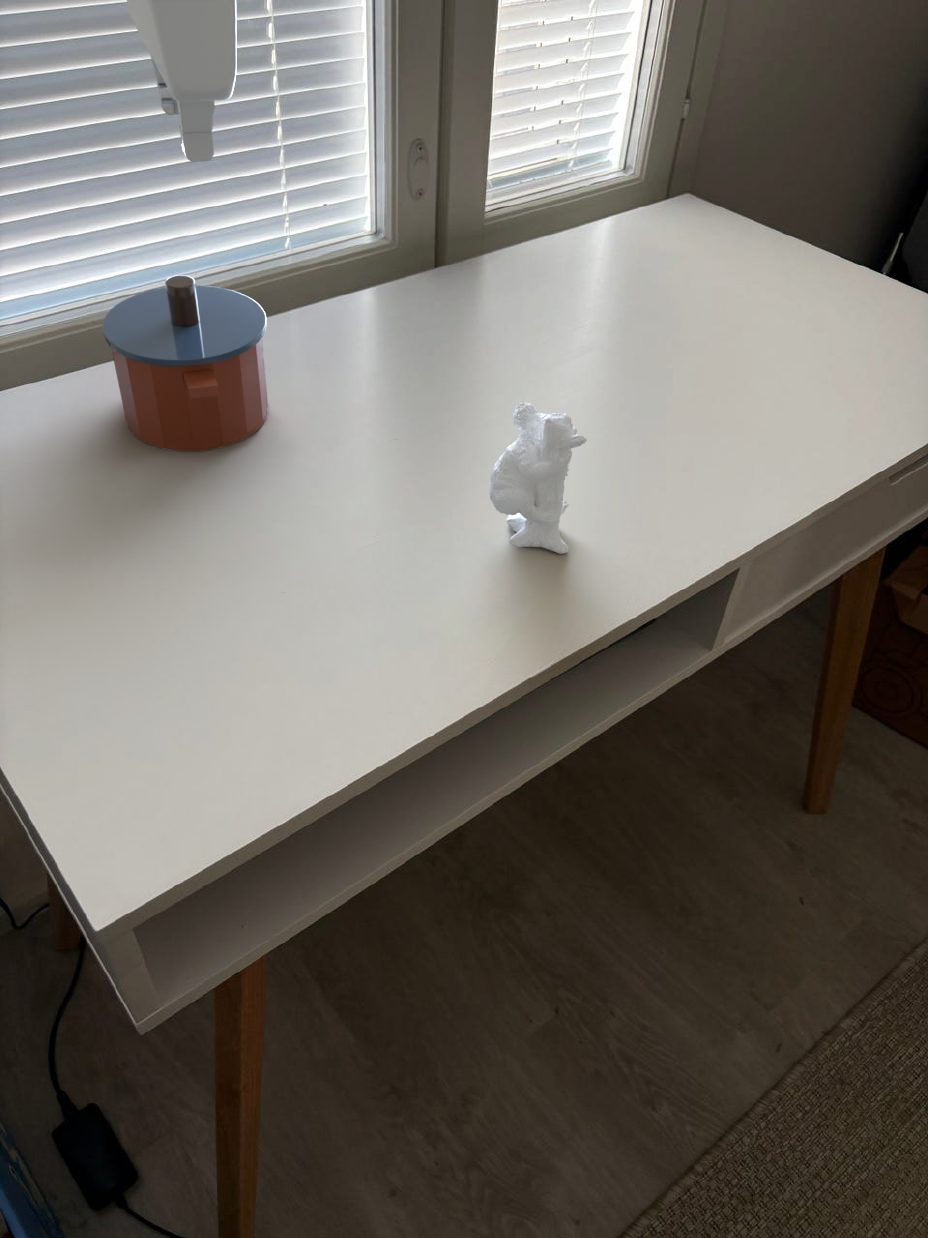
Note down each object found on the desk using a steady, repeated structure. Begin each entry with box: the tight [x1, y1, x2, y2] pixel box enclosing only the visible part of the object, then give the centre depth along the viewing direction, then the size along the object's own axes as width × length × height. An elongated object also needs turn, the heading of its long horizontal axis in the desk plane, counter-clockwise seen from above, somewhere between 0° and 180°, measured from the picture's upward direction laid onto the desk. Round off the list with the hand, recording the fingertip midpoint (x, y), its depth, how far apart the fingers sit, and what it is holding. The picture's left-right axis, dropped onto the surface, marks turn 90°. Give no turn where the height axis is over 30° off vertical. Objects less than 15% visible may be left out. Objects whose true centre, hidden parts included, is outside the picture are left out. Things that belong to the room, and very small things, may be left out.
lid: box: [102, 274, 268, 367], centre depth 85 cm, size 14×14×5 cm
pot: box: [110, 338, 269, 452], centre depth 90 cm, size 13×18×8 cm
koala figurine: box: [488, 402, 588, 555], centre depth 78 cm, size 8×7×12 cm
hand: (186, 133), depth 68 cm, fingers open, 8 cm apart
